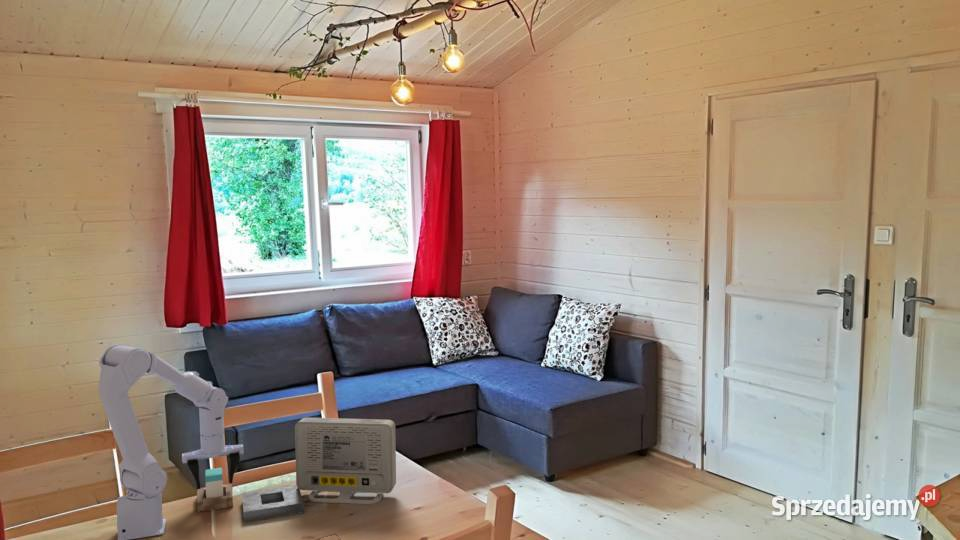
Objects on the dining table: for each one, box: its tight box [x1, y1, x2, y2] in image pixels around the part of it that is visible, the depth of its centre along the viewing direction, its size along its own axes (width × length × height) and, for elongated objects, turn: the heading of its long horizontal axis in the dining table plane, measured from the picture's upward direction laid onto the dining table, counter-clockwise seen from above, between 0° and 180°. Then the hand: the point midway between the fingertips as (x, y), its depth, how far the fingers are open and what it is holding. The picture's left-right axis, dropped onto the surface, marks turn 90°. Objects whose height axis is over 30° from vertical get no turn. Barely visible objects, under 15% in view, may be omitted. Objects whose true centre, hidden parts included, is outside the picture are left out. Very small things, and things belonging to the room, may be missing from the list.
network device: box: [294, 417, 397, 505], centre depth 177 cm, size 26×9×20 cm, turn 84°
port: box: [241, 485, 305, 523], centre depth 171 cm, size 14×12×2 cm
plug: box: [204, 467, 224, 499], centre depth 175 cm, size 4×5×8 cm
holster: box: [196, 483, 234, 513], centre depth 175 cm, size 8×9×2 cm
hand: (214, 484), depth 175 cm, fingers open, 7 cm apart
